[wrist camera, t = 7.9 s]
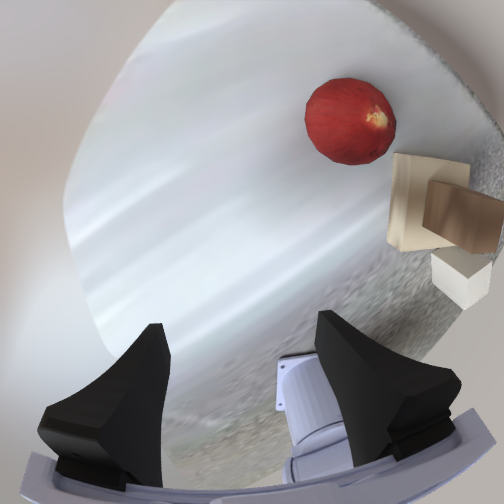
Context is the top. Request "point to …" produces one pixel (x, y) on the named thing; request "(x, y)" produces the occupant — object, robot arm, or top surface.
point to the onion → (350, 121)
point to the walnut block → (464, 217)
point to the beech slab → (418, 198)
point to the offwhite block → (461, 275)
